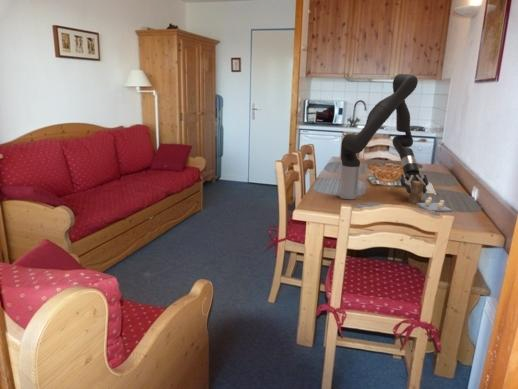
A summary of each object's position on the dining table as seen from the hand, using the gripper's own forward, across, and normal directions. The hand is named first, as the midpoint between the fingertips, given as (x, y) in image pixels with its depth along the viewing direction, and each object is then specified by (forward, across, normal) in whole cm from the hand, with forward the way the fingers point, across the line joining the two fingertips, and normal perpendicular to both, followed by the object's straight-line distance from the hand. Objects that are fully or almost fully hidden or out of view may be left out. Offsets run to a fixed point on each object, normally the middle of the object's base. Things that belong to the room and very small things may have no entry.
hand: (417, 192), depth 206 cm
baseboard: (-19, +23, +28) cm, 40 cm away
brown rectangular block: (+3, 0, +5) cm, 6 cm away
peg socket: (+10, +5, -2) cm, 11 cm away
